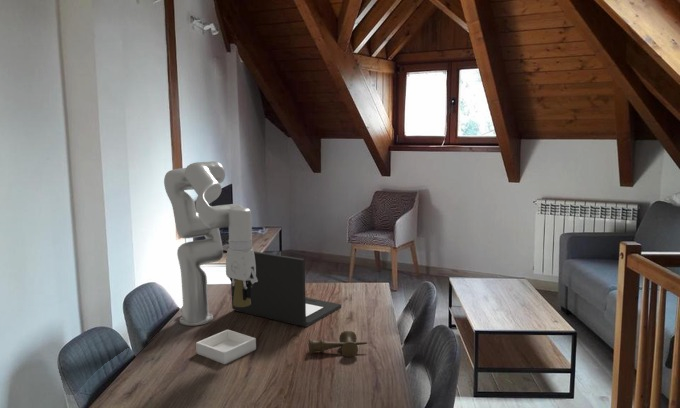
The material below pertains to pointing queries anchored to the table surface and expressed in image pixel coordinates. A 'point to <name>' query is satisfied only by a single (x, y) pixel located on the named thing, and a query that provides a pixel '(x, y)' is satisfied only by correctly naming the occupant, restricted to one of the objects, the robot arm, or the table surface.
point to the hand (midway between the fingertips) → (242, 297)
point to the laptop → (283, 292)
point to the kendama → (337, 344)
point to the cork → (240, 295)
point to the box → (226, 346)
